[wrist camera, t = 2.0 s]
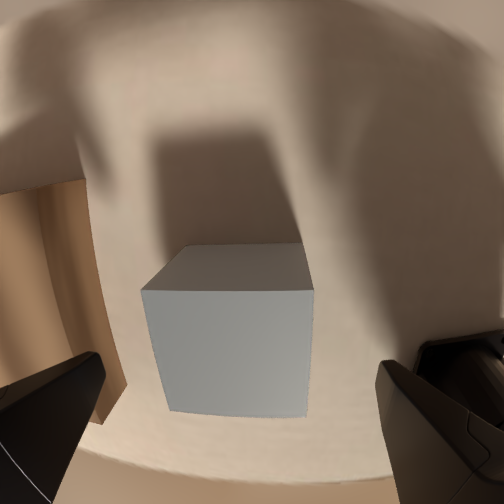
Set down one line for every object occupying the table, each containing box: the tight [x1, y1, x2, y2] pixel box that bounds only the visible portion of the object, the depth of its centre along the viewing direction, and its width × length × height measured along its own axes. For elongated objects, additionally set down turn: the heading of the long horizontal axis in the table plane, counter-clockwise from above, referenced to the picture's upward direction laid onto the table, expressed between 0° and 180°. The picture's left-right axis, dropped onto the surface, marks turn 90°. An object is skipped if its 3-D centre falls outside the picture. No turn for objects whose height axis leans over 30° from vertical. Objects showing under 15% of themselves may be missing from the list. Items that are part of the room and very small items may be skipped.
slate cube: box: [141, 243, 314, 418], centre depth 12 cm, size 5×5×5 cm
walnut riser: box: [0, 179, 127, 425], centre depth 14 cm, size 11×12×4 cm
